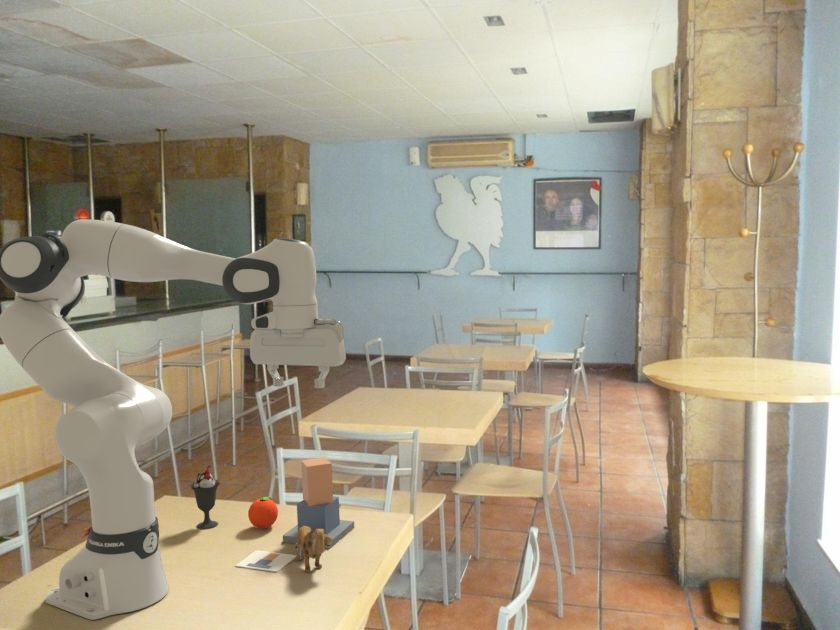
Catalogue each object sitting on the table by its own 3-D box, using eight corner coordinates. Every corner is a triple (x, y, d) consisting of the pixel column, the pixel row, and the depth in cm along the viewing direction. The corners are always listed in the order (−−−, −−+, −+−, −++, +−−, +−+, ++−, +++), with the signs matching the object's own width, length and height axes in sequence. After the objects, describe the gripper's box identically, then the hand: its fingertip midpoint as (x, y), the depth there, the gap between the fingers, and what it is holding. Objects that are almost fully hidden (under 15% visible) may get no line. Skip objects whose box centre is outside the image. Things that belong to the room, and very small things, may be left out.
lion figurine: (336, 572, 143) (335, 529, 142) (312, 580, 140) (310, 535, 139) (306, 547, 155) (305, 507, 154) (283, 553, 152) (281, 512, 151)
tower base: (282, 541, 159) (281, 507, 158) (308, 522, 170) (307, 490, 170) (331, 547, 155) (329, 512, 154) (354, 527, 166) (353, 494, 166)
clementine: (260, 519, 173) (258, 491, 173) (285, 521, 172) (284, 492, 171) (243, 531, 166) (241, 502, 165) (270, 534, 164) (268, 504, 163)
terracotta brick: (308, 506, 158) (307, 466, 158) (302, 498, 163) (301, 460, 163) (333, 502, 160) (331, 463, 160) (326, 495, 166) (325, 457, 165)
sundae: (217, 530, 167) (214, 467, 166) (189, 530, 167) (185, 468, 166) (225, 519, 174) (222, 459, 173) (198, 520, 174) (194, 460, 173)
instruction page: (235, 566, 147) (235, 565, 147) (256, 551, 154) (256, 549, 154) (277, 572, 143) (277, 570, 143) (297, 556, 151) (297, 554, 151)
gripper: (349, 317, 142) (352, 385, 143) (261, 317, 149) (264, 382, 150) (335, 320, 136) (338, 391, 137) (244, 320, 143) (247, 388, 144)
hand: (298, 387), depth 144 cm, fingers open, 8 cm apart
